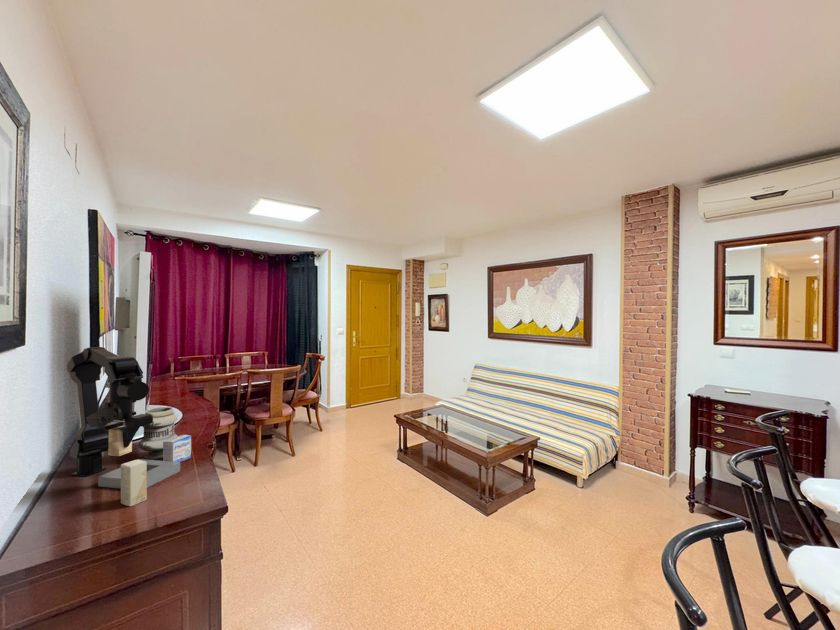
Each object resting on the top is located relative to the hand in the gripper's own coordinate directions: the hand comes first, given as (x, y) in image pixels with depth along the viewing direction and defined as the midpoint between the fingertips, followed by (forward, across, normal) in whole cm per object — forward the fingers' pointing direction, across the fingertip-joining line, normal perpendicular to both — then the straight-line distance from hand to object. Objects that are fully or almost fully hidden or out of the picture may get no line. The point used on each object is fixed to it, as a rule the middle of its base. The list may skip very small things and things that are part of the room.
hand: (120, 446), depth 111 cm
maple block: (+2, 0, 0) cm, 2 cm away
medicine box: (+12, +2, +19) cm, 23 cm away
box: (+12, +14, -8) cm, 20 cm away
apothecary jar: (+12, -10, +22) cm, 27 cm away
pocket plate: (+12, +2, +5) cm, 13 cm away
